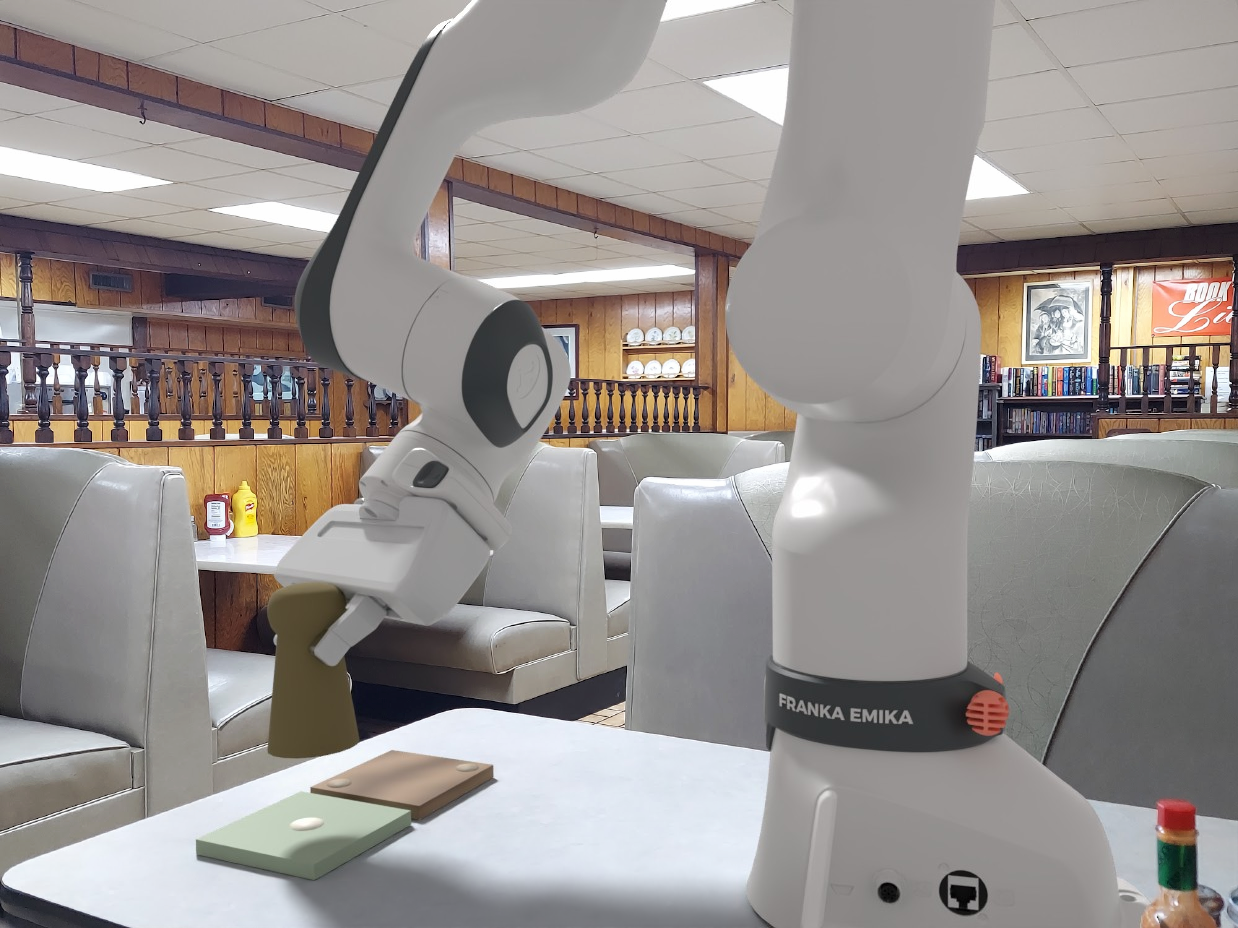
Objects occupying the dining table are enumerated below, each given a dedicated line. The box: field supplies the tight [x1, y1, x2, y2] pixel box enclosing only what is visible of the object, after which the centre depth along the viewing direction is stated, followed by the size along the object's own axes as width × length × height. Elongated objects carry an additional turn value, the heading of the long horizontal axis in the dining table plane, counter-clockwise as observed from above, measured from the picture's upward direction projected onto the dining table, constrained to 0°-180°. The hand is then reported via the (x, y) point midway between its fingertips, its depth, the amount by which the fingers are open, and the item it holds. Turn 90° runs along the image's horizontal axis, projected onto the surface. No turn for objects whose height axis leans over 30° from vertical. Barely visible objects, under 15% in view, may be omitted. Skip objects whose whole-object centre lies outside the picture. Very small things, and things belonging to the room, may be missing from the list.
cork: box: [266, 582, 360, 759], centre depth 71 cm, size 6×6×11 cm
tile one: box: [195, 790, 412, 881], centre depth 72 cm, size 10×10×1 cm
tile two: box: [309, 749, 495, 821], centre depth 82 cm, size 10×10×1 cm
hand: (301, 654), depth 71 cm, fingers closed on cork, 4 cm apart
